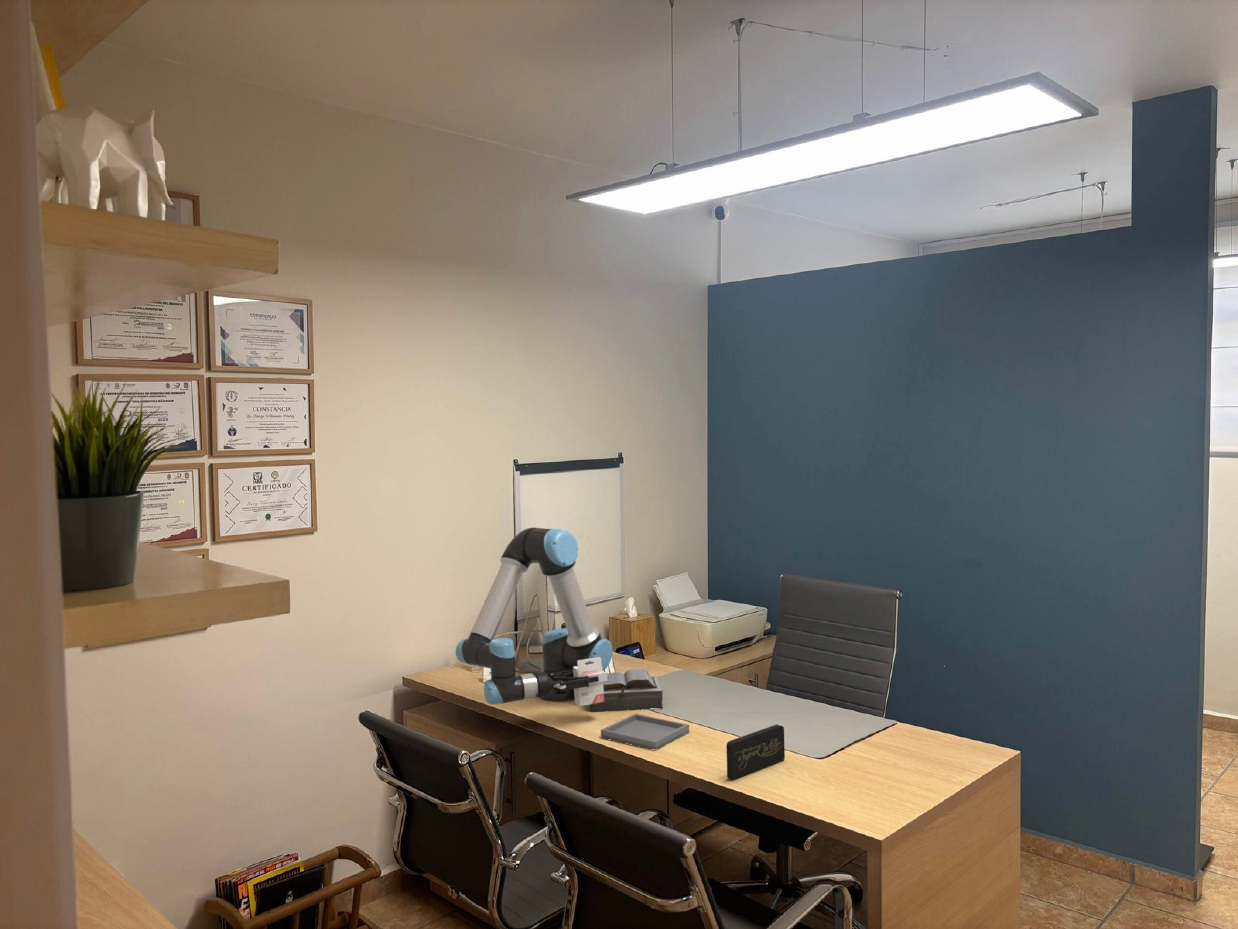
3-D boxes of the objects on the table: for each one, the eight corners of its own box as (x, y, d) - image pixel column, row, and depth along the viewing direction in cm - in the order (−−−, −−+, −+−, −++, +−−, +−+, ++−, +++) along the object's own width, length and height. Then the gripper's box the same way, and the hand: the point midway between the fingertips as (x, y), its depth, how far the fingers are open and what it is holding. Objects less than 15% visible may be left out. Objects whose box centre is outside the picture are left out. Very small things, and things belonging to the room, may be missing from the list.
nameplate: (732, 781, 233) (731, 744, 232) (727, 779, 234) (726, 742, 234) (784, 761, 246) (784, 725, 246) (779, 759, 247) (778, 723, 247)
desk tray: (635, 721, 283) (635, 713, 283) (689, 732, 271) (688, 724, 271) (601, 738, 268) (600, 729, 268) (655, 750, 256) (655, 742, 256)
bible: (661, 714, 290) (660, 684, 289) (580, 713, 293) (579, 684, 293) (667, 693, 313) (666, 665, 312) (592, 692, 316) (591, 665, 316)
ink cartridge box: (599, 698, 288) (597, 653, 288) (604, 702, 284) (602, 657, 283) (574, 702, 285) (571, 657, 284) (579, 706, 281) (577, 660, 280)
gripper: (526, 689, 285) (593, 678, 295) (544, 705, 269) (614, 693, 278) (525, 666, 285) (592, 656, 294) (542, 681, 268) (613, 669, 278)
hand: (603, 674), depth 286 cm, fingers closed on ink cartridge box, 5 cm apart
